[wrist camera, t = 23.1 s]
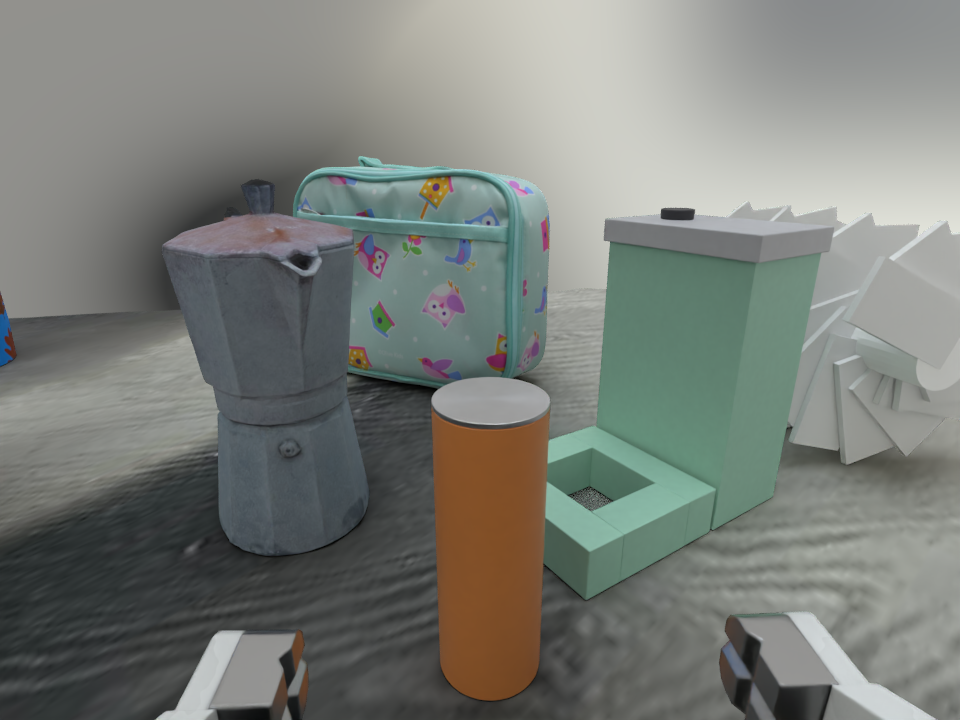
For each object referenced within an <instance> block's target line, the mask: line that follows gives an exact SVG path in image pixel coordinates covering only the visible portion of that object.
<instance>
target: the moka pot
mask: <svg viewBox="0 0 960 720" xmlns="http://www.w3.org/2000/svg"><path fill="white" fill-rule="evenodd" d="M241 187H242V190H243V193H244V196H245V198H246V201H247V204H248V206H249V209H250V213H249V214H247V215H244V216H243V215H242V214H241V213H240V212H239V211H238V210H237V209H235V208H233V207H230V208H227V211H226V213H225V218H224V221H223V222H219V223H215V224H211V225H208V226H203V227H200V228H196V229H192V230H189V231H186V232H184V233H181V234H180V235H178V236H177V237H175V238H173V239H172V240H170V241H168V242H166V243H165V244H164V245H163V247H162V254H163V257H164V260H165V263H166V266H167V269H168V272H169V274H170V277H171V281H172V284H173V287H174V290H175V292H176V295H177V298H178V301H179V304H180V307H181V310H182V313H183V316H184V319H185V323H186V326H187V329H188V332H189V335H190V338H191V341H192V344H193V346H194V350H195V353H196V356H197V360H198V363H199V366H200V369H201V372H202V375H203V378H204V380H205V381H206V383H208V384H210V385H212V386H213V388H214V393H215V398H216V403H217V407H218V409H219V411H220V412H219V414H218V479H219V519H220V522H221V526H222V528H223V530H224V532H225V533H226V536H227V537H228V539H229V541H230V542H231V543H233V544H234V545H236V546H238V547H240V548H241V549H242V550H245V551H249V552H253V553H256V554H261V555H264V556H282V555H292V554H299V553H304V552H308V551H311V550H314V549H317V548H320V547H323V546H325V545H328V544H330V543H332V542H333V541H335V540H337V539H339V538H341V537H342V536H344V535H345V534H347V533H348V532H349V531H350V530H352V529H353V528H354V527H355V526H356V525H357V524H358V523H359V522H360V520H361V519H362V518H363V516H364V514H365V512H366V508H367V505H368V499H369V487H368V482H367V478H366V473H365V469H364V465H363V461H362V456H361V452H360V448H359V444H358V440H357V436H356V431H355V427H354V422H353V418H352V413H351V409H350V405H349V401H348V398H347V396H346V395H347V376H346V373H347V372H348V362H349V341H350V317H351V298H352V281H353V264H354V234H353V230H352V229H350V228H346V227H342V226H338V225H334V224H328V223H323V222H317V221H312V220H307V219H301V218H296V217H291V216H286V215H281V214H278V213H274V212H273V207H274V191H275V185H274V184H273V183H271V182H268V181H264V180H259V179H255V180H250V181H248V182H247V183H245V184H243V185H241Z"/></svg>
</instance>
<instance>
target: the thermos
mask: <svg viewBox="0 0 960 720" xmlns="http://www.w3.org/2000/svg"><path fill="white" fill-rule="evenodd" d="M15 357H16V351H15V346H14V342H13V337H12V333H11V328H10V323H9V320H8V316H7V313H6V310H5V307H4V303H3V300H2V296H1V293H0V366H2V365H4V364H6V363H8V362H10V361H12V360H13V359H14V358H15Z"/></svg>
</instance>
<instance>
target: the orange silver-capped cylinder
mask: <svg viewBox="0 0 960 720" xmlns="http://www.w3.org/2000/svg"><path fill="white" fill-rule="evenodd" d="M431 409H432V438H433V467H434V497H435V526H436V555H437V584H438V613H439V642H440V664H441V668H442V671H443V673H444V675H445V677H446V679H447V680H448V681H449V683H450V684H451V685H452V686H453V687H454V688H455V689H457V690H458V691H459V692H461V693H463V694H464V695H466V696H469V697H471V698H475V699H479V700H486V701H495V700H502V699H506V698H509V697H512V696H514V695H516V694H518V693H520V692H521V691H522V690H524V689H525V688H526V687H527V686H528V685H529V684H530V683H531V682H532V680H533V679H534V677H535V675H536V673H537V670H538V666H539V653H540V630H541V607H542V583H543V560H544V536H545V513H546V489H547V466H548V442H549V419H550V398H549V396H548V394H547V393H546V392H545V391H544V390H543V389H541V388H540V387H538V386H536V385H533V384H531V383H528V382H525V381H521V380H516V379H510V378H502V377H479V378H470V379H464V380H459V381H456V382H452V383H450V384H447V385H445V386H443V387H441V388H440V389H438V390H437V391H436V392H435V393H434V394H433V396H432V399H431Z"/></svg>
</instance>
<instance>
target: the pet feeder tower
mask: <svg viewBox="0 0 960 720" xmlns="http://www.w3.org/2000/svg"><path fill="white" fill-rule="evenodd" d="M694 214H695V210H694V209H689V208H663V209H661V214H660V215H647V216H633V217H620V218H607V219H605V229H604V240H605V241H610V252H609V264H608V279H607V291H606V305H605V318H604V332H603V346H602V359H601V373H600V386H599V400H598V413H597V428H599V429H601V430H603V431H605V432H607V433H609V434H611V435H613V436H615V437H617V438H618V439H620V440H622V441H624V442H626V443H628V444H630V445H632V446H634V447H636V448H638V449H640V450H642V451H644V452H646V453H647V454H649V455H651V456H653V457H655V458H657V459H659V460H661V461H663V462H665V463H667V464H669V465H671V466H673V467H675V468H676V469H678V470H680V471H682V472H684V473H686V474H688V475H690V476H692V477H694V478H696V479H698V480H700V481H702V482H704V483H705V484H707V485H709V486H711V487H713V488H715V489H716V492H715V498H714V505H713V511H712V517H711V523H710V529H712V530H714V529H716V528H718V527H719V526H721V525H723V524H725V523H727V522H728V521H730V520H732V519H734V518H736V517H737V516H739V515H741V514H743V513H745V512H746V511H748V510H750V509H752V508H754V507H755V506H757V505H759V504H761V503H763V502H764V501H766V500H768V499H770V498H772V497H773V493H774V488H775V483H776V478H777V473H778V468H779V463H780V458H781V453H782V448H783V443H784V438H785V433H786V428H787V423H788V418H789V413H790V408H791V403H792V398H793V392H794V387H795V382H796V377H797V372H798V367H799V362H800V357H801V352H802V347H803V342H804V337H805V332H806V327H807V322H808V317H809V312H810V307H811V302H812V297H813V292H814V287H815V282H816V277H817V272H818V267H819V262H820V257H821V253H823V252H829V251H830V247H831V242H832V237H833V233H834V226H825V225H813V224H801V223H788V222H776V221H764V220H752V219H740V218H728V217H715V216H704V215H694Z"/></svg>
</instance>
